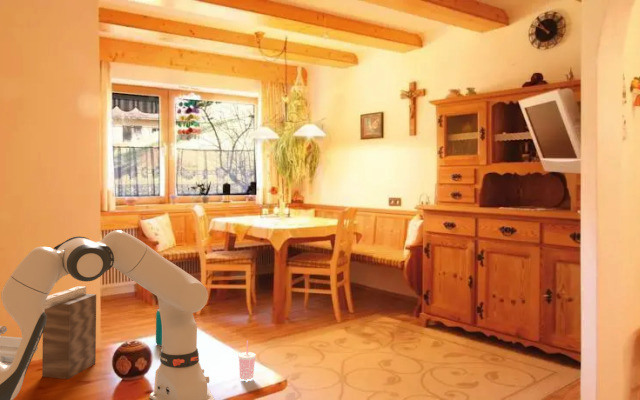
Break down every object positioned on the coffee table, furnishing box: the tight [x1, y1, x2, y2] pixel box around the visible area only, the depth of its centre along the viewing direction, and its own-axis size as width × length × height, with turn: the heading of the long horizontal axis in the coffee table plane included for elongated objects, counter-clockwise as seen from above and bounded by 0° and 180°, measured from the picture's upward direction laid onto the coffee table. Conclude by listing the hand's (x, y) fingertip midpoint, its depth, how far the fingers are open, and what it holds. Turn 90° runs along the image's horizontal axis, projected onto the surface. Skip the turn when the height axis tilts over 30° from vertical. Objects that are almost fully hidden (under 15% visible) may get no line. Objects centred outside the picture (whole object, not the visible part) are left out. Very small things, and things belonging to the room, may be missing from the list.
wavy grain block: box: [41, 293, 97, 380], centre depth 190 cm, size 16×10×26 cm, turn 171°
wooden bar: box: [44, 285, 87, 309], centre depth 185 cm, size 24×3×3 cm, turn 171°
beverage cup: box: [238, 340, 257, 380], centre depth 186 cm, size 6×6×14 cm
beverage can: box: [155, 308, 162, 347], centre depth 222 cm, size 6×6×15 cm
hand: (18, 328), depth 164 cm, fingers open, 8 cm apart
